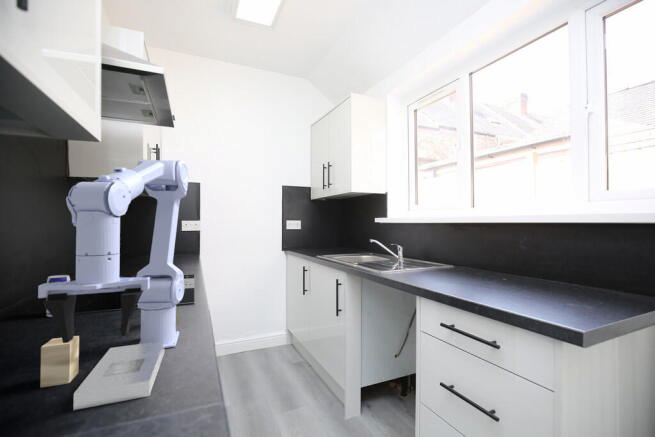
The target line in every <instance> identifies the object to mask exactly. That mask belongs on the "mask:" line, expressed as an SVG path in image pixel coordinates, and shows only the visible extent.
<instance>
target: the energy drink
mask: <svg viewBox="0 0 655 437" xmlns="http://www.w3.org/2000/svg"><path fill="white" fill-rule="evenodd" d="M67 281H71V278H70V275H69V274H60V275H51V276H47V279H46V283H57V282H67ZM47 299H48V297H46V300H47ZM45 313H46V317H48V318H53V317H52V315H51V314H50V313H49V311H48V310H47V309H46V311H45Z"/></svg>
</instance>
